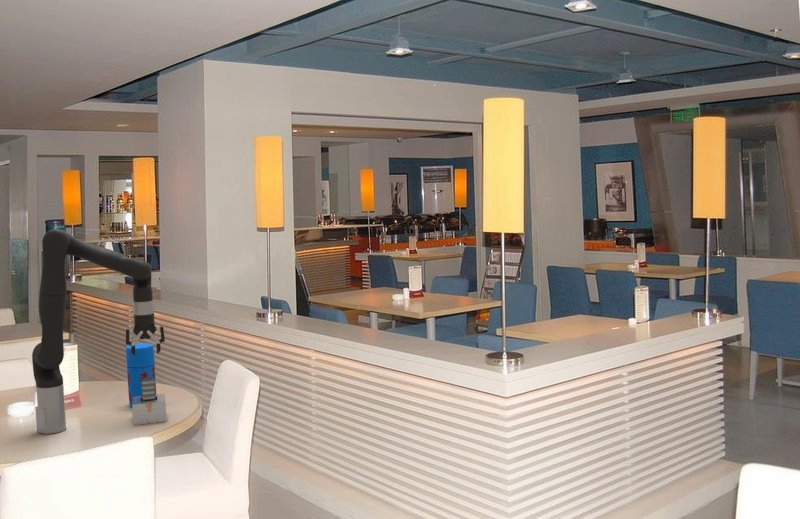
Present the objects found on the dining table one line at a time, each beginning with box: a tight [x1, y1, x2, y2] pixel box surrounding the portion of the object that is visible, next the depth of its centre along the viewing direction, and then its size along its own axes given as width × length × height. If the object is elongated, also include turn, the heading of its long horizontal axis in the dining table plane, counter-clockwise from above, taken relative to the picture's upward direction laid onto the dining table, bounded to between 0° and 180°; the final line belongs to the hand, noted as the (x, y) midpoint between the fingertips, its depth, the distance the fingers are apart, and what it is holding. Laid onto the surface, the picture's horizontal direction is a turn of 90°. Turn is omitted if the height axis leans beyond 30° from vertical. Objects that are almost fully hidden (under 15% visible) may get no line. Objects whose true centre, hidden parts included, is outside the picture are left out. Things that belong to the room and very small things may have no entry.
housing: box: [131, 393, 167, 426], centre depth 304 cm, size 13×12×8 cm
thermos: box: [125, 343, 157, 410], centre depth 323 cm, size 11×11×25 cm
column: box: [142, 377, 155, 402], centre depth 304 cm, size 4×4×16 cm
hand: (146, 354), depth 302 cm, fingers open, 8 cm apart
